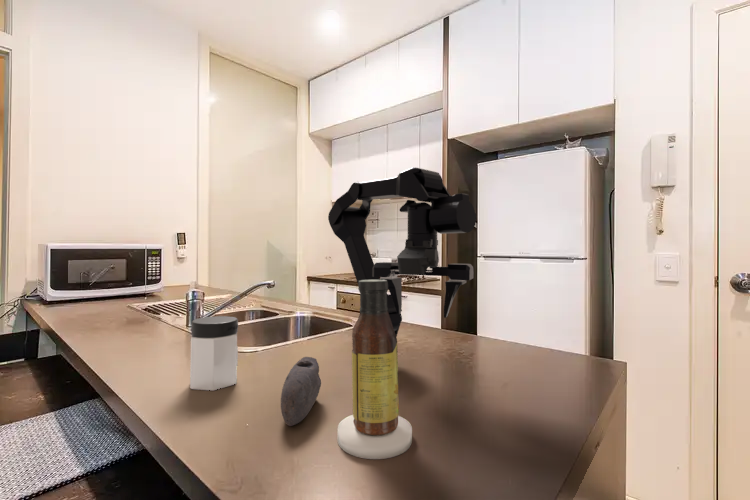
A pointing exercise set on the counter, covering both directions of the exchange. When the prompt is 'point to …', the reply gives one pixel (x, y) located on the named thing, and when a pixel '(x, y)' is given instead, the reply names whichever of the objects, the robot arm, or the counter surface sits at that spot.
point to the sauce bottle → (374, 363)
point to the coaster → (374, 440)
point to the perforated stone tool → (300, 390)
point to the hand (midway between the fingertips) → (421, 315)
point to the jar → (213, 352)
